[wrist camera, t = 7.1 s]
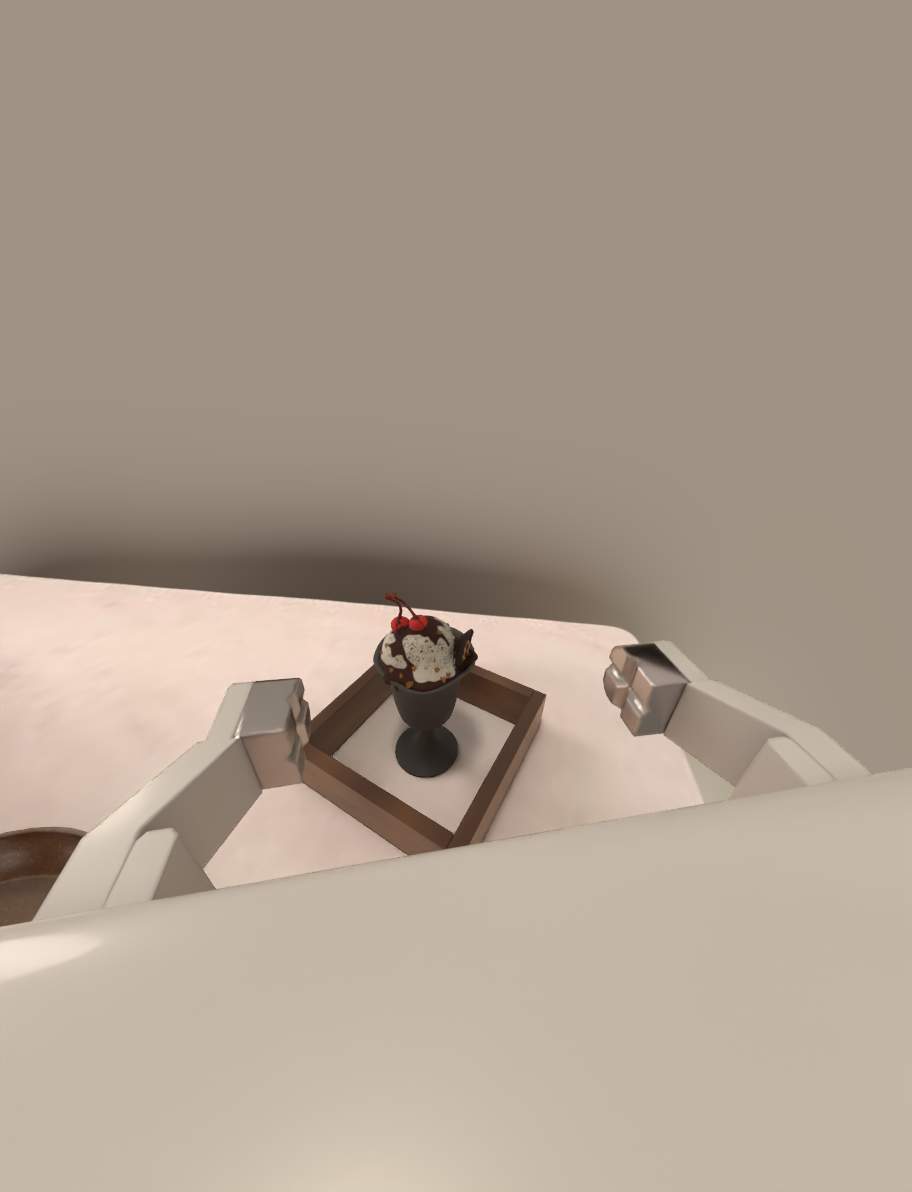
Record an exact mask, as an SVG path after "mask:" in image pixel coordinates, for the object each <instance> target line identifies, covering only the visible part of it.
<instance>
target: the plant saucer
mask: <svg viewBox="0 0 912 1192" xmlns="http://www.w3.org/2000/svg"><path fill="white" fill-rule="evenodd" d="M86 834H88V832H84V831H81V830H77V829H72V828H64V827H41V828H29V829H24V830H17V831H11V832H5V833H2V834H0V927H2V926H8V925H14V924H20V923H25V922H31V921H32V920H33V918H34V917H35V915H36V913H37V912H38V910H39V908H40V907H41V905H42V903H43V902H44V900H45V898H46V897H47V895H48V893H49V892H50V890H51V888H52V887H53V885H54V883H55V882H56V880H57V878H58V877H59V875H60V873H61V872H62V870H63V868H64V867H65V865H66V863H67V862H68V860H69V858H70V857H71V855H72V853H73V852H74V850H75V848H76V847H77V845H78V843H79V842H80V840H81V839H82V838H83V837H84V836H85V835H86Z"/></svg>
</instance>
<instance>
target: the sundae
mask: <svg viewBox="0 0 912 1192" xmlns="http://www.w3.org/2000/svg"><path fill="white" fill-rule="evenodd" d="M385 599H387V600H391V601H393V602H396V603H397V604H398V606H399V610H400V612H399V615H398V617H396V618H394V619H393V620H392V622H391V628H392V630H391V631H390V632H389V633H388V634H387V635H386V636H385V637H384V638H383V639H382V641H381V642H380V643H379V645H378V647H377V649H376V651H375V654H374V659H373V662H374V665H375V667H376V669H377V671H378V672H379V673H380V674H381V675H382V676H383V679H384V682H385V683H386V684H389V685H391V689H392V692H393V696H394V700H395V703H396V706H397V709H398V711H399V713H400V716H401V718H402V719H403V721H404V722H405V723H406V724H408V725H409V726H411V727H410V728H409V729H407V730H406V731H405V732H403V734H402V735H401V736H400V738H399V739H398V741H397V744H396V751H395V753H396V758H397V760H398V763H399V764H400V765H401V767H402V768H403V769H404V770H405V771H407V772H409V773H410V774H413V775H415V776H420V777H431V776H435V775H438V774H440V773H443V772H444V771H445V770H447V769H448V768H449V767H450V766H451V765H452V764H453V762H454V760H455V758H456V756H457V750H458V748H457V742H456V739H455V737H454V735H453V734H452V733H451V732H450V731H449V730H448V729H446V728H445V727H443V726H441V725H442V724H444V723H445V722H446V721H447V720H448V719H449V717H450V716H451V714H452V711H453V708H454V706H455V702H456V698H457V693H458V688H459V684H460V681H461V679H462V678H463V677H464V676H466V675H467V674H468V673H469V672H470V671H471V669H472V668H473V667H474V665H475V661H476V660H477V659H478V656H477V654H476V653H475V651H474V648H473V646H472V644H471V638H472V636H473V630H472V629H470V630H468V631H467V632H466V633H464V634H463V633H462V632H460V631H458V630H457V629H455V628H452V627H450V626H449V624H448V623H447V624H446V623H445V622H443V621H442V620H440V619H438V618H436V617H433V616H423V615H416V614H415V613H414V612H413V611H412V610H411V608H410V607H409V606H408V605H407V604H406V603H405V602H404V601H402V600H401V599H399V598H397V596H396V593H393V594H385ZM393 599H396V600H399V601H400V602H402V603H403V604H404V605H405V606H406V607H407V608H408V610H409V611H410V612H411V614H412V615H413V617H412V618H411V619H410V621H409V619H408V618H406V617H403V616H401V615H402V607H401V605H400V603H399V602H398V601H396V600H393Z"/></svg>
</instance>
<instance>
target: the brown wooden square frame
mask: <svg viewBox="0 0 912 1192" xmlns="http://www.w3.org/2000/svg"><path fill="white" fill-rule="evenodd" d="M391 693H392V689H391V685H389V684H386V683H385V682H384V679H383V676H382V675H381V674H380V673H379V672H378V671H377V669H376V667H375V665H373V666H372V667H371V668H369V669H368V670H367V671H366V672H365V673H364V674H363V675H362V676H361V677H359V678H358V679H357V680H356V681H355V682H354V683H353V684H352V685H350V686H349V687H348V688H347V689H346V690H345V691H344V692H343V693H342V694H340V695H339V696H338V697H337V698H336V699H335V700H334V701H333V702H332V703H330V704H329V705H328V706H327V707H326V708H325V709H324V710H323V711H321V712H320V713H319V714H318V715H317V716H316V717H315V718H314V719H313V720H311V725H310V737H309V742H308V743H307V744H306V745H305V746H304V747H303V748H304V752H305V755H306V761H305V766H304V772H303V778H302V782H303V783H305V784H306V785H308V786H309V787H310V788H312V789H313V790H315V791H316V792H318V793H319V794H321V795H322V796H324V797H325V798H326V799H328V800H329V801H331V802H332V803H334V804H335V805H337V806H338V807H339V808H341V809H342V810H344V811H345V812H347V813H348V814H350V815H351V816H352V817H354V818H355V819H357V820H358V821H360V822H361V823H363V824H364V825H366V826H367V827H368V828H370V829H371V830H373V831H374V832H376V833H377V834H379V835H380V836H381V837H383V838H384V839H386V840H387V841H389V842H390V843H392V844H393V845H395V846H396V847H397V848H399V849H400V850H402V851H403V852H405V853H406V854H408V855H409V856H410V855H415V854H421V853H427V852H433V851H438V850H444V849H450V848H455V847H461V846H467V845H473V844H478V843H482V841H483V839H484V837H485V835H486V833H487V831H488V829H489V827H490V825H491V823H492V821H493V819H494V817H495V815H496V813H497V811H498V809H499V807H500V805H501V803H502V801H503V799H504V797H505V795H506V793H507V791H508V789H509V787H510V785H511V783H512V780H513V778H514V776H515V774H516V772H517V770H518V768H519V766H520V764H521V762H522V760H523V758H524V756H525V754H526V752H527V750H528V748H529V746H530V744H531V742H532V740H533V738H534V736H535V734H536V732H537V730H538V728H539V726H540V721H541V717H542V712H543V708H544V703H545V699H546V694H543V693H541V692H539V691H536V690H535V691H534V689H531V688H529V687H526V686H524V685H522V684H519V683H517V682H514V681H512V680H510V679H507V678H505V677H502V676H500V675H497V674H495V673H493V672H490V671H488V670H485V669H483V668H481V667H478V666H476V665H474V667H473V668H472V669H471V671H470V672H469V673H468V674H467V675H466V676H464V677H463V678H462V679H461V681H460V684H459V688H458V693H457V697H458V698H460V699H462V700H464V701H466V702H469V703H471V704H473V705H475V706H477V707H479V708H482V709H484V710H486V711H488V712H490V713H492V714H495V715H497V716H499V717H501V718H503V719H506V720H508V721H510V722H512V723H514V724H516V725H515V726H514V728H513V730H512V732H511V734H510V735H509V737H508V739H507V741H506V742H505V744H504V746H503V748H502V750H501V751H500V753H499V755H498V757H497V759H496V760H495V762H494V764H493V766H492V768H491V769H490V771H489V773H488V775H487V777H486V778H485V780H484V782H483V784H482V785H481V787H480V789H479V791H478V793H477V794H476V796H475V798H474V800H473V802H472V803H471V805H470V807H469V809H468V811H467V812H466V814H465V816H464V818H463V820H462V821H461V823H460V825H459V827H458V828H457V830H456V832H455V834H453V833H452V832H450V831H448V830H447V829H445V828H444V827H442V826H440V825H439V824H437V823H436V822H434V821H433V820H431V819H429V818H428V817H426V816H425V815H423V814H421V813H420V812H418V811H417V810H415V809H413V808H412V807H410V806H409V805H407V804H405V803H404V802H402V801H401V800H399V799H397V798H396V797H394V796H393V795H391V794H389V793H388V792H386V791H385V790H383V789H381V788H380V787H378V786H377V785H375V784H374V783H372V782H370V781H369V780H367V779H366V778H364V777H362V776H361V775H359V774H358V773H356V772H354V771H353V770H351V769H350V768H348V767H346V766H345V765H343V764H342V763H340V762H338V761H337V760H335V759H334V758H332V757H330V756H331V755H332V754H333V753H334V752H335V751H336V750H337V749H338V748H339V747H340V746H341V745H342V744H343V743H344V742H345V741H346V740H347V739H348V738H349V737H350V736H351V735H352V733H353V732H354V731H355V730H356V729H357V728H358V727H359V726H360V725H361V724H362V723H363V722H364V721H365V720H366V719H367V718H368V717H369V716H370V715H371V714H372V713H373V712H374V711H375V710H376V709H377V708H378V707H379V706H380V705H381V704H382V703H383V702H384V700H385V699H386V698H387V697H388V696H389V695H390V694H391Z"/></svg>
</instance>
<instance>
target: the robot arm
mask: <svg viewBox="0 0 912 1192" xmlns="http://www.w3.org/2000/svg"><path fill="white" fill-rule="evenodd" d="M609 658H610V659H611V661H612V664H611V665H610V666H609V667H608V668H607V669H606V670H605V674H604V678H603V682H604V689H605V692H606V695H607V697H608V698H609V700H610V702H611V703H612V704H613V705H615V706H617V707H618V708H620V709H621V714H620V717H621V718H622V720H623V721H624V723H625V724H626V726H627V727H628V729H629V730H630V732H631V733H632V735H633V736H634V737H635V736H644V735H653V734H662V733H664V736H666V737H667V738H668V739H670V740H671V741H672V742H674V743H675V744H677V745H678V746H679V747H681V748H682V749H683V750H685V751H686V752H688V753H689V754H690V755H692V756H693V757H694V758H696V759H697V760H699V761H700V762H701V763H703V764H704V765H705V766H707V767H708V768H710V769H711V770H712V771H714V772H715V773H717V774H718V775H719V776H720V777H722V778H723V779H725V780H726V781H727V782H729V783H730V784H731V785H733V786H734V787H735V788H734V789H733V791H732V792H731V793H730V795H729V796H728V798H727V800H724V801H718V802H712V803H707V804H701V805H695V806H689V807H684V808H678V809H672V810H667V811H661V812H655V813H649V814H644V815H638V816H632V817H626V818H621V819H615V820H609V821H604V822H598V823H592V824H586V825H581V826H575V827H569V828H563V829H558V830H552V831H546V832H541V833H535V834H529V835H524V836H518V837H512V838H507V839H501V840H495V841H490V842H484V843H478V844H473V845H467V846H461V847H455V848H450V849H444V850H438V851H433V852H427V853H421V854H415V855H410V856H404V857H398V858H393V859H387V860H381V861H375V862H370V863H364V864H358V865H352V866H347V867H341V868H335V869H330V870H324V871H318V872H312V873H307V874H301V875H295V876H290V877H284V878H278V879H272V880H267V881H261V882H255V883H249V884H244V885H238V886H232V887H227V888H221V889H215V887H214V886H213V884H212V883H211V881H210V880H209V878H208V877H207V875H206V874H205V872H204V871H203V868H204V867H205V866H206V865H207V863H208V862H209V861H210V859H211V858H212V857H213V855H214V854H215V853H216V852H217V850H218V849H219V848H220V846H221V845H222V844H223V842H224V841H225V840H226V839H227V837H228V836H229V835H230V833H231V832H232V831H233V830H234V828H235V827H236V826H237V824H238V823H239V822H240V820H241V819H242V818H243V817H244V815H245V814H246V813H247V811H248V810H249V809H250V808H251V806H252V805H253V804H254V802H255V801H256V800H257V798H258V797H259V796H260V795H261V793H262V790H263V789H269V788H275V787H281V786H287V785H293V784H299V783H302V778H303V772H304V766H305V761H306V755H305V752H304V748H303V747H304V746H305V745H306V744H307V743H308V742H309V737H310V725H311V718H310V709H309V705H308V702H306V701H305V700H304V699H303V694H304V686H303V683H302V679H300V678H292V679H279V680H266V681H256V682H246V683H233V684H232V685H231V686H230V687H229V688H228V689H227V691H226V694H225V696H224V698H223V701H222V703H221V705H220V708H219V710H218V712H217V714H216V717H215V719H214V721H213V724H212V726H211V728H210V731H209V733H208V735H207V738H206V740H205V741H203V742H197V743H196V744H195V745H194V746H192V747H191V748H190V749H189V750H188V751H186V752H185V753H184V754H183V755H182V756H180V757H179V758H178V759H177V760H176V761H174V762H173V763H172V764H171V765H170V766H168V767H167V768H166V769H165V770H164V771H162V772H161V773H160V774H159V775H158V776H156V777H155V778H154V779H153V780H152V781H150V782H149V783H148V784H147V785H145V786H144V787H143V788H142V789H141V790H139V791H138V792H137V793H136V794H135V795H133V796H132V797H131V798H130V799H129V800H127V801H126V802H125V803H124V804H123V805H121V806H120V807H119V808H118V809H117V810H115V811H114V812H113V813H112V814H111V815H109V816H108V817H107V818H106V819H105V820H103V821H102V822H101V823H100V824H99V825H97V826H96V827H95V828H94V829H92V830H91V831H90V832H89V833H88V834H86V835H85V836H84V837H83V838H82V839H81V840H80V842H79V843H78V845H77V847H76V848H75V850H74V852H73V853H72V855H71V857H70V858H69V860H68V862H67V863H66V865H65V867H64V868H63V870H62V872H61V873H60V875H59V877H58V878H57V880H56V882H55V883H54V885H53V887H52V888H51V890H50V892H49V893H48V895H47V897H46V898H45V900H44V902H43V903H42V905H41V907H40V908H39V910H38V912H37V913H36V915H35V917H34V918H33V920H32V921H31V922H25V923H20V924H14V925H8V926H2V927H0V1192H912V768H907V769H901V770H895V771H890V772H884V773H878V774H873V773H872V772H871V771H870V770H868V769H867V768H866V767H865V766H864V765H862V764H861V763H860V762H859V761H858V760H857V759H856V758H854V757H853V756H852V755H851V754H850V753H849V752H847V751H846V750H845V749H844V748H843V747H842V746H841V745H839V744H838V743H837V742H836V741H835V740H834V739H832V738H831V737H830V736H829V735H828V734H827V733H825V732H824V731H823V730H822V729H820V728H818V727H816V726H814V725H811V724H809V723H807V722H805V721H803V720H800V719H798V718H796V717H794V716H792V715H790V714H788V713H786V712H783V711H781V710H779V709H777V708H774V707H773V706H771V705H768V704H766V703H764V702H761V701H760V700H757V699H755V698H753V697H751V696H749V695H747V694H745V693H743V692H740V691H738V690H736V689H734V688H732V687H729V686H727V685H725V684H723V683H721V682H719V681H716V680H713V681H711V680H709V679H708V678H707V677H706V676H705V675H704V674H703V673H702V672H701V671H700V670H699V669H698V668H697V667H696V666H695V665H694V664H693V663H692V662H691V661H690V660H689V659H688V658H687V657H686V656H685V655H684V654H683V653H682V652H681V651H680V650H679V649H678V648H677V647H676V646H675V645H674V644H673V643H672V642H670V641H667V640H665V641H656V642H649V643H640V644H631V645H622V646H615V647H614V648H613V649H612V651H611V654H610V657H609Z"/></svg>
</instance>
